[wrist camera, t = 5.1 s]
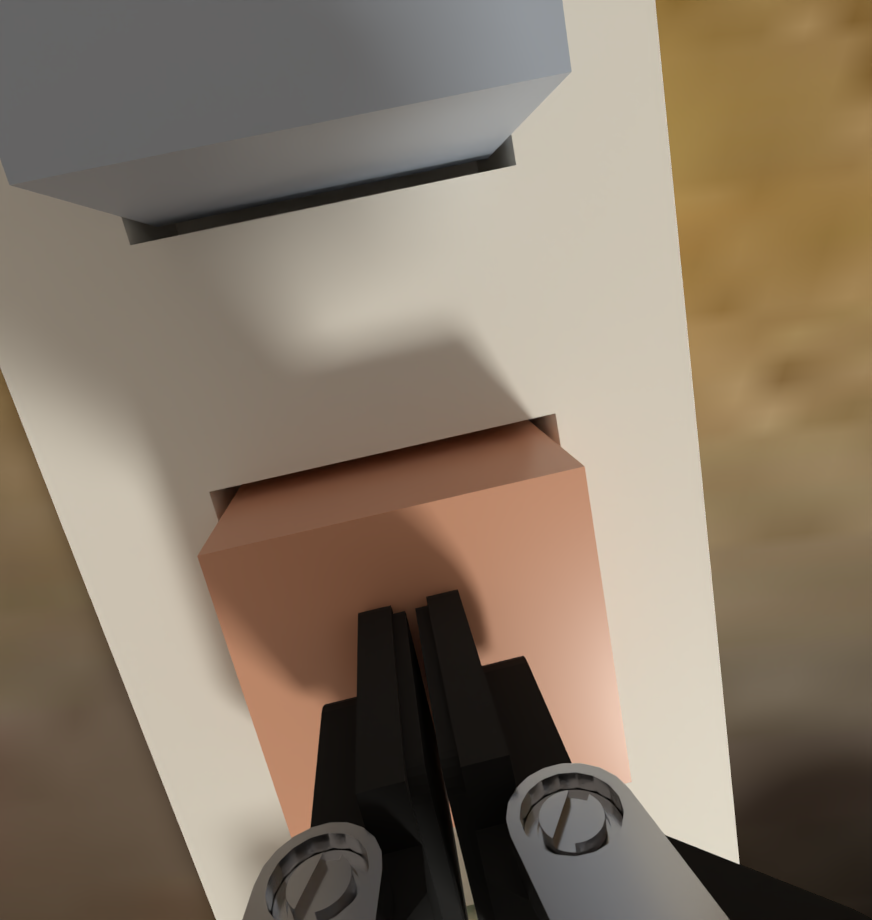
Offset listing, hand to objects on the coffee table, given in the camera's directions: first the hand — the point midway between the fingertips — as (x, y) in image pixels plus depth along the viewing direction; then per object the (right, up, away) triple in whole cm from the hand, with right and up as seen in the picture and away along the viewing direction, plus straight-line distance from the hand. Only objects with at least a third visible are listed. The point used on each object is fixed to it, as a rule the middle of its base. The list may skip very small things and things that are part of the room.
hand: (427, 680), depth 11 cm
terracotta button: (0, +1, +5) cm, 5 cm away
